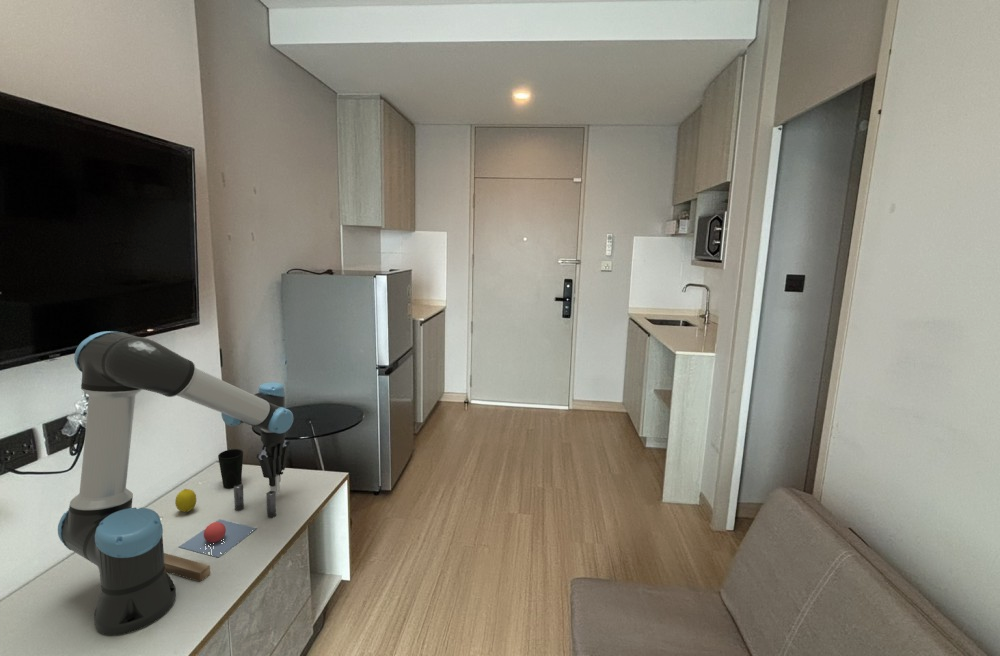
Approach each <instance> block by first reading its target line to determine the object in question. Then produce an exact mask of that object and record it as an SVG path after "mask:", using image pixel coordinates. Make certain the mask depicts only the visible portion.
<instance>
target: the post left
mask: <svg viewBox="0 0 1000 656" xmlns="http://www.w3.org/2000/svg"><path fill="white" fill-rule="evenodd" d="M233 497H234V501H233V502H234V510H235V512H236V511H242V510H244V508H245V502H244V501H245V499H244V498H245V497H244V484H243V483H241V484H237V485H235V486H234V488H233Z"/></svg>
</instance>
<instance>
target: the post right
mask: <svg viewBox="0 0 1000 656" xmlns="http://www.w3.org/2000/svg"><path fill="white" fill-rule="evenodd" d="M276 496H277V495H276V494H275V491H270V490H269V491H268V492H266V518H268V519H273V517H274V518H275V517H276V516H277V504H276V503H277V500H276V499H277V498H276Z"/></svg>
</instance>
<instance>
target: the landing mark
mask: <svg viewBox="0 0 1000 656" xmlns="http://www.w3.org/2000/svg"><path fill="white" fill-rule="evenodd" d="M216 522H220V523H222V524H224V526H225V528H226V532H225V535H224V537H223V538H222V539H221V540H222V541H221V540H219V541H217V542H214V544H213V543H211V542H208V541H206V540H205V538H204V531H205V529H202V531H200V532H199V533H197V534H195V535H194V536H192V537H191V538H189V539H188V540H186V541H185V542H184V543H181V545H179V546H178V548H179V547H180V548H179V549H183V548H184V550H187V549H188V550H187V551H190V550H192V551H191V552H194V551H196V552H195V553H198V552H200V553H199V554H202V553H203V552H204V554H203V555H205V553H206V554H208V552H210V555H211V549H212V555H213V556H215V557H214V558H217V557H218V558H217V559H219V558H221V557H222V556H224V553H225V552H226V553H227V552H229V551H230V550H232V547H233V548H234V547H235V546H237V545H238V544H239V543H240V542H242V541H243V540H245V539H246V538H247V537H248V536H249V535H248V534H250V532H252V533H254V532H255V531H256V530H257V529H258V528H257V527H254V526H249V525H245V524H241V523H238V522H237V523H236V522H232V521H228V520H224V519H218V520H216ZM255 529H256V530H255ZM252 530H253V531H254V530H255V531H254V532H253V531H252ZM250 535H251V534H250ZM246 536H247V537H246ZM245 537H246V538H245ZM223 539H224V540H223ZM242 539H243V540H242ZM241 540H242V541H241ZM223 541H224V542H225V543H224V542H223ZM238 542H239V543H238ZM221 543H223V544H221ZM237 543H238V544H237ZM205 544H206V545H205ZM210 544H211V545H210ZM208 545H209V546H210V547H211V549H210V547H208ZM205 546H206V548H207V549H206V550H205ZM213 546H214V549H213ZM200 548H201V549H200ZM228 550H229V551H228ZM220 552H221V553H222V554H220ZM226 553H225V554H226ZM212 555H211V556H210V557H213V556H212ZM220 556H221V557H220Z"/></svg>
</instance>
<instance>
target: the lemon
mask: <svg viewBox="0 0 1000 656" xmlns="http://www.w3.org/2000/svg"><path fill="white" fill-rule="evenodd" d="M174 503H175V507H176V508H177V510H178V511H180V512H184V513H188V512H189V511H191V510H192V509H194V507H195V506H196V504H197V494H196V492H195V491H194V490H193V489H190V488H184V489H183V490H181V491H179V492H178V494H177V495H176V498H175V502H174Z"/></svg>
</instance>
